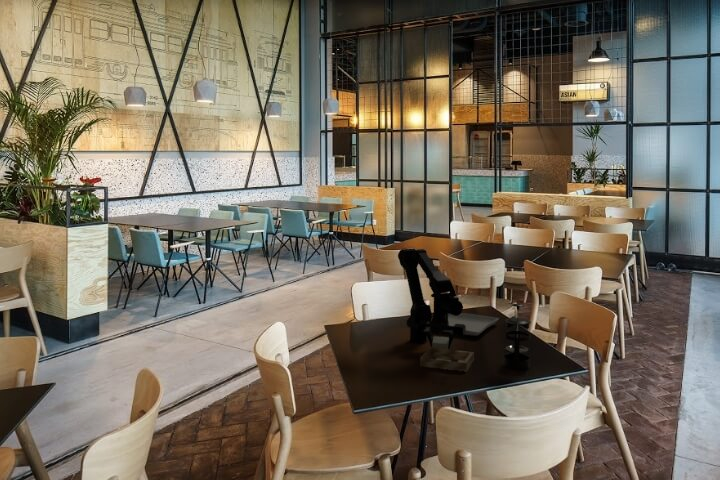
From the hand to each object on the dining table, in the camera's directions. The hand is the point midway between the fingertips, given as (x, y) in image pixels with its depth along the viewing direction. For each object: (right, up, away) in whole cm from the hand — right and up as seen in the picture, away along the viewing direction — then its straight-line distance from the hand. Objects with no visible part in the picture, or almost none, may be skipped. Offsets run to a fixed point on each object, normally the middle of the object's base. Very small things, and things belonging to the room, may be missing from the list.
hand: (440, 348), depth 233 cm
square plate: (+14, +3, +33) cm, 36 cm away
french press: (+25, -3, -17) cm, 31 cm away
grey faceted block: (0, -1, 0) cm, 1 cm away
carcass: (+1, -3, -14) cm, 14 cm away
